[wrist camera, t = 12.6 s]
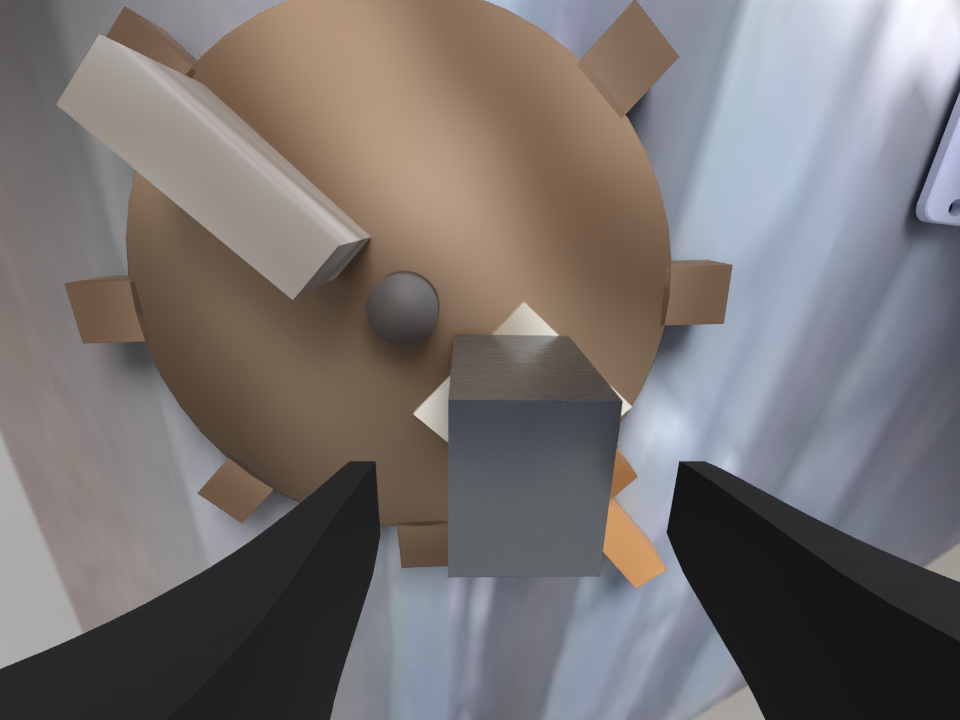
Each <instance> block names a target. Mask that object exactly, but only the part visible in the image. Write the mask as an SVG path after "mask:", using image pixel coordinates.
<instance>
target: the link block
mask: <svg viewBox="0 0 960 720" xmlns="http://www.w3.org/2000/svg"><path fill="white" fill-rule="evenodd" d="M622 404H623V401H622V400H621V398H620V397H619V396H618V395H617V394H616V392H615V391H614V390H613V389H612V388H611V386H610V385H609V384H608V383H607V381H606V380H605V379H604V378H603V377H602V375H601V374H600V373H599V372H598V371H597V369H596V368H595V367H594V366H593V365H592V363H591V362H590V361H589V360H588V358H587V357H586V356H585V355H584V354H583V352H582V351H581V350H580V349H579V348H578V346H577V345H576V344H575V343H574V342H573V340H572V339H571V338H570V337H569V336H545V335H475V334H454V343H453V353H452V364H451V375H450V386H449V397H448V577H567V576H600V570H601V562H602V555H603V547H604V540H605V532H606V525H607V517H608V509H609V502H610V494H611V487H612V479H613V472H614V464H615V457H616V449H617V442H618V434H619V426H620V419H621V411H622Z"/></svg>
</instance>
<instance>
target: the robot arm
mask: <svg viewBox="0 0 960 720" xmlns="http://www.w3.org/2000/svg"><path fill="white" fill-rule="evenodd" d="M951 203H952V204H953V206H952V210H951V211H950V213H949V212H948V211H949V206H950V205H951ZM916 215H917V217H918V218H919V220H920V221H923V222H928V223H937V224H946V225H955V226H960V93H959V95H958V98H957V101H956V103H955V106H954V108H953V111H952V114H951V116H950V119H949V122H948V124H947V127H946V129H945V132H944V135H943V137H942V140H941V143H940V145H939V148H938V151H937V153H936V156H935V158H934V161H933V164H932V166H931V169H930V172H929V174H928V177H927V179H926V182H925V185H924V187H923V190H922V193H921V195H920V198H919V200H918V203H917V207H916ZM667 535H668V537H669V540H670V542H671V545H672V547H673V550H674V552H675V555H676V557H677V559H678V562H679V564H680V566H681V568H682V571H683V573H684V575H685V576H686V578H687V580H688V582H689V584H690V585H691V587H692V589H693V591H694V592H695V594H696V596H697V597H698V599H699V601H700V603H701V604H702V606H703V608H704V610H705V611H706V613H707V615H708V616H709V618H710V620H711V621H712V623H713V625H714V626H715V628H716V630H717V632H718V633H719V635H720V637H721V638H722V640H723V642H724V643H725V645H726V647H727V649H728V650H729V652H730V654H731V655H732V657H733V659H734V660H735V662H736V664H737V666H738V667H739V669H740V671H741V673H742V674H743V676H744V678H745V680H746V682H747V684H748V686H749V687H750V689H751V691H752V693H753V695H754V697H755V699H756V701H757V703H758V705H759V707H760V710H761V712H762V714H763V716H764V718H765V720H960V582H958V581H955V580H952V579H950V578H947V577H945V576H942V575H940V574H937V573H935V572H932V571H930V570H927V569H925V568H922V567H920V566H917V565H915V564H913V563H910V562H908V561H906V560H903V559H901V558H899V557H896V556H894V555H892V554H889V553H887V552H885V551H882V550H880V549H877V548H875V547H873V546H871V545H869V544H867V543H864V542H862V541H860V540H858V539H856V538H854V537H852V536H849V535H847V534H845V533H843V532H841V531H839V530H837V529H835V528H833V527H831V526H829V525H827V524H825V523H823V522H821V521H819V520H817V519H815V518H813V517H811V516H809V515H807V514H805V513H803V512H801V511H800V510H798V509H796V508H794V507H792V506H790V505H788V504H786V503H784V502H783V501H781V500H779V499H777V498H775V497H773V496H771V495H770V494H768V493H766V492H764V491H762V490H760V489H759V488H757V487H755V486H753V485H751V484H749V483H747V482H746V481H744V480H742V479H740V478H738V477H736V476H734V475H732V474H730V473H729V472H727V471H725V470H723V469H721V468H719V467H716V466H714V465H712V464H710V463H707V462H705V461H679V467H678V472H677V478H676V483H675V489H674V495H673V500H672V506H671V512H670V517H669V523H668V529H667ZM379 539H380V520H379V505H378V490H377V474H376V461H349V462H348V463H347V464H345V465H344V466H343V467H342V468H341V469H340V470H338V471H337V472H336V473H335V474H334V475H333V476H332V477H330V478H329V479H328V480H327V481H326V482H325V483H324V484H322V485H321V486H320V487H319V488H318V489H317V490H315V491H314V492H313V493H312V494H311V495H309V496H308V497H307V498H306V499H305V500H303V501H302V502H301V503H300V504H299V505H297V506H296V507H295V508H294V509H293V510H291V511H290V512H289V513H287V514H286V515H285V516H283V517H282V518H281V519H279V520H278V521H277V522H275V523H274V524H273V525H272V526H270V527H269V528H268V529H266V530H265V531H264V532H262V533H261V534H260V535H258V536H257V537H256V538H254V539H253V540H251V541H250V542H248V543H247V544H246V545H244V546H243V547H241V548H240V549H238V550H237V551H235V552H234V553H232V554H231V555H229V556H227V557H226V558H224V559H223V560H221V561H219V562H218V563H216V564H215V565H213V566H212V567H210V568H208V569H207V570H205V571H203V572H202V573H200V574H198V575H196V576H195V577H193V578H191V579H189V580H187V581H186V582H184V583H182V584H180V585H178V586H177V587H175V588H173V589H171V590H169V591H168V592H166V593H164V594H162V595H160V596H159V597H157V598H155V599H153V600H151V601H149V602H148V603H146V604H144V605H142V606H140V607H138V608H136V609H134V610H132V611H130V612H128V613H126V614H124V615H122V616H120V617H118V618H116V619H114V620H112V621H110V622H108V623H105V624H103V625H101V626H99V627H97V628H95V629H92V630H90V631H88V632H86V633H84V634H82V635H80V636H77V637H75V638H73V639H71V640H69V641H67V642H64V643H62V644H60V645H57V646H55V647H53V648H50V649H48V650H46V651H43V652H41V653H38V654H36V655H34V656H31V657H29V658H26V659H24V660H21V661H19V662H16V663H14V664H12V665H9V666H6V667H4V668H2V669H0V720H330V717H331V713H332V708H333V704H334V699H335V696H336V692H337V688H338V685H339V681H340V677H341V674H342V671H343V668H344V664H345V661H346V658H347V655H348V652H349V649H350V646H351V642H352V639H353V636H354V633H355V630H356V627H357V624H358V621H359V617H360V614H361V611H362V608H363V605H364V602H365V598H366V595H367V592H368V589H369V586H370V582H371V579H372V576H373V571H374V566H375V561H376V556H377V550H378V545H379Z"/></svg>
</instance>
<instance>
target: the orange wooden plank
mask: <svg viewBox="0 0 960 720" xmlns="http://www.w3.org/2000/svg"><path fill="white" fill-rule="evenodd" d="M603 552H604V554H605V555H606V556H607V557H608V558H609V559H610V560H611V561H612V562H613V563H614V565H615V566H616V567H617V568H618V569H619V570H620V571H621V572H622V573H623V575H624V576H625V577H626V578H627V579H628V580H629V581H630V582H631V583H632V584H633V586H634V587H635V588H638V587H639V586H641V585H643V584H644V583H646V582H648V581H649V580H651V579H652V578H654V577H656V576H657V575H659V574H660V573H662V572H664V571H665V570H667V569H666V568H665V566H664V564H663V562H662V560H661V559H660V557H659V555H658V553H657V552H656V550H655V548H654V546H653V544H652V543H651V541H650V540H649V539H648V538H647V537H646V536H645V534H644V533H643V532H642V531H641V530H640V529H639V527H638V526H637V525H636V524H635V523H634V521H633V520H632V519H631V518H630V517H629V516H628V514H627V513H626V512H625V511H624V510H623V509H622V507H621V506H620V505H619V504H618V503H617V502H616V500H615V499H614V498H612V499H611V500H610V502H609V509H608V517H607V525H606V532H605V540H604V547H603Z"/></svg>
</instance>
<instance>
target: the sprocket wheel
mask: <svg viewBox="0 0 960 720" xmlns="http://www.w3.org/2000/svg"><path fill="white" fill-rule="evenodd" d="M678 58H679V56H678V54H677V53H676V52H675V51H674V49H673V48H672V47H671V45H670V44H669V43H668V41H667V40H666V39H665V37H664V36H663V35H662V34H661V32H660V31H659V30H658V28H657V27H656V26H655V24H654V23H653V22H652V20H651V19H650V18H649V17H648V15H647V14H646V13H645V11H644V10H643V9H642V7H641V6H640V5H639V3H638V2H637V1H636V0H634V1H633V2H632V3H631V4H630V5H629V6H628V7H627V8H626V10H625V11H624V12H623V13H622V14H621V15H620V16H619V17H618V19H617V20H616V21H615V22H614V23H613V24H612V25H611V27H610V28H609V29H608V30H607V31H606V32H605V33H604V34H603V36H602V37H601V38H600V39H599V40H598V41H597V42H596V43H595V45H594V46H593V47H592V48H591V49H590V50H589V51H588V53H587V54H586V55H585V56H584V57H583V58H582V59H581V60H579V59H578V58H577V56H575V55H574V54H573V53H571V52H570V51H569V50H568V49H566V48H565V47H564V46H563V45H561V44H560V43H559V42H557V41H556V40H555V39H554V38H552V37H551V36H550V35H549V34H547V33H546V32H545V31H543V30H542V29H540V28H538V27H537V26H535V25H533V24H531V23H530V22H528V21H526V20H524V19H523V18H521V17H519V16H517V15H516V14H514V13H512V12H510V11H509V10H507V9H505V8H502V7H499V6H497V5H494V4H492V3H489V2H487V1H484V0H288V1H286V2H283V3H281V4H279V5H277V6H274V7H272V8H270V9H268V10H265V11H263V12H261V13H259V14H257V15H256V16H254V17H253V18H251V19H250V20H248V21H247V22H245V23H244V24H242V25H240V26H239V27H237V28H236V29H234V30H233V31H231V32H230V33H228V34H227V35H225V36H224V37H223V38H222V39H221V40H220V41H219V42H217V43H216V44H215V45H214V46H213V47H212V48H211V49H210V50H209V51H208V52H207V53H205V54H204V55H203V56H202V57H201V58H200V59H199V60H198V61H197V60H196V59H195V58H194V57H192V56H191V55H190V54H189V53H188V52H187V51H186V50H185V49H184V48H183V47H182V46H181V45H179V44H178V43H177V42H176V41H175V40H174V39H173V38H172V37H171V36H170V35H169V34H168V33H167V32H165V31H164V30H163V29H161V28H160V27H158V26H156V25H155V24H153V23H151V22H150V21H148V20H146V19H145V18H143V17H141V16H140V15H138V14H136V13H135V12H133V11H131V10H130V9H128V8H126V7H124V9H123V10H122V12H121V14H120V15H119V17H118V19H117V20H116V22H115V24H114V25H113V27H112V28H111V30H110V32H109V33H108V35H107V37H105V36H103V35H101V34H99V35H98V37H97V38H96V40H95V42H94V43H93V45H92V46H91V48H90V50H89V51H88V53H87V55H86V56H85V58H84V60H83V61H82V63H81V64H80V66H79V68H78V69H77V71H76V73H75V74H74V76H73V78H72V79H71V81H70V82H69V84H68V86H67V87H66V89H65V91H64V92H63V94H62V96H61V97H60V99H59V101H58V102H57V104H56V105H57V106H59V107H60V108H61V109H62V110H63V111H65V112H66V113H67V114H68V115H70V116H71V117H72V118H73V119H74V120H76V121H77V122H78V123H79V124H80V125H82V126H83V127H84V128H85V129H86V130H88V131H89V132H90V133H91V134H92V135H94V136H95V137H96V138H97V139H99V140H100V141H101V142H102V143H103V144H105V145H106V146H107V147H108V148H109V149H111V150H112V151H113V152H114V153H115V154H117V155H118V156H119V157H120V158H122V159H123V160H124V161H125V162H126V163H128V164H129V165H130V166H131V167H132V168H134V169H135V170H136V172H135V176H134V181H133V185H132V190H131V195H130V199H129V206H128V220H127V234H126V246H127V261H128V276H106V277H99V278H93V279H88V280H82V281H77V282H71V283H66V284H65V287H66V290H67V293H68V297H69V300H70V303H71V306H72V309H73V313H74V316H75V319H76V322H77V325H78V329H79V332H80V335H81V338H82V341H83V343H112V342H146V345H147V347H148V349H149V351H150V353H151V355H152V357H153V360H154V362H155V364H156V366H157V368H158V370H159V372H160V374H161V376H162V378H163V380H164V381H165V383H166V384H167V386H168V387H169V389H170V391H171V392H172V394H173V395H174V397H175V398H176V400H177V402H178V403H179V405H180V406H181V408H182V409H183V410H184V411H185V412H186V414H187V415H188V416H189V417H190V419H191V420H192V421H193V422H194V424H195V425H196V426H197V427H198V428H199V430H200V431H201V432H202V433H203V434H204V435H205V436H206V437H207V438H208V439H209V440H210V441H211V442H212V443H213V444H214V445H215V446H216V447H217V448H218V449H219V450H220V451H221V452H222V453H223V454H224V455H225V456H227V457H228V459H227V460H226V462H225V463H224V464H223V465H222V466H221V467H220V468H219V469H218V471H217V472H216V473H215V474H214V475H213V476H212V477H211V478H210V480H209V481H208V482H207V483H206V484H205V485H204V486H203V488H202V489H201V490H200V491H199V492H198V494H199V495H201V496H202V497H204V498H205V499H207V500H208V501H210V502H211V503H213V504H214V505H216V506H217V507H219V508H220V509H222V510H223V511H225V512H226V513H228V514H229V515H231V516H232V517H234V518H235V519H237V520H238V521H240V522H241V523H243V522H244V521H245V520H246V518H247V517H248V516H249V515H250V514H251V513H252V512H253V511H254V510H255V509H256V508H257V507H258V506H259V505H260V504H261V502H262V501H263V500H264V499H265V498H266V497H267V496H268V495H269V494H270V493H271V492H272V491H273V490H275V491H277V492H279V493H281V494H283V495H285V496H287V497H290V498H292V499H294V500H296V501H298V502H300V503H301V502H302V501H303V500H305V499H306V498H307V497H308V496H309V495H311V494H312V493H313V492H314V491H315V490H317V489H318V488H319V487H320V486H321V485H322V484H324V483H325V482H326V481H327V480H328V479H329V478H330V477H332V476H333V475H334V474H335V473H336V472H337V471H338V470H340V469H341V468H342V467H343V466H344V465H345V464H347V463H348V462H349V461H376V474H377V490H378V505H379V520H380V524H383V525H391V526H398V536H399V547H400V557H401V567H402V568H409V567H433V566H448V397H449V386H450V375H451V364H452V353H453V343H454V334H475V335H545V336H569V337H570V338H571V339H572V340H573V342H574V343H575V344H576V345H577V346H578V348H579V349H580V350H581V351H582V352H583V354H584V355H585V356H586V357H587V358H588V360H589V361H590V362H591V363H592V365H593V366H594V367H595V368H596V369H597V371H598V372H599V373H600V374H601V375H602V377H603V378H604V379H605V380H606V381H607V383H608V384H609V385H610V386H611V388H612V389H613V390H614V391H615V392H616V394H617V395H618V396H619V397H620V398H621V400H622V401H623V404H622V411H621V419H620V423H621V421H622V420H623V419H624V417H625V416H626V414H627V413H628V411H629V409H630V408H631V407H632V404H633V403H634V401H635V400H636V398H637V396H638V395H639V393H640V391H641V389H642V387H643V385H644V383H645V381H646V378H647V376H648V374H649V372H650V370H651V367H652V365H653V363H654V360H655V357H656V354H657V351H658V347H659V344H660V341H661V338H662V334H663V331H664V326H665V325H697V324H724V318H725V311H726V305H727V298H728V291H729V285H730V278H731V271H732V265H730V264H725V263H720V262H715V261H710V260H683V261H671V254H670V242H669V231H668V223H667V219H666V214H665V210H664V205H663V201H662V196H661V192H660V188H659V185H658V183H657V180H656V177H655V174H654V172H653V169H652V166H651V164H650V161H649V158H648V155H647V153H646V151H645V149H644V147H643V145H642V144H641V142H640V140H639V138H638V136H637V134H636V132H635V130H634V128H633V127H632V125H631V123H630V121H629V119H628V118H627V116H626V115H625V114H626V113H627V112H628V111H629V110H630V109H631V108H632V107H633V106H634V105H635V104H636V103H637V102H638V100H639V99H640V98H641V97H642V96H643V95H644V94H645V93H646V92H647V91H648V90H649V89H650V88H651V87H652V86H653V84H654V83H655V82H656V81H657V80H658V79H659V78H660V77H661V76H662V75H663V74H664V73H665V72H666V71H667V70H668V68H669V67H670V66H671V65H672V64H673V63H674V62H675V61H676V60H677V59H678ZM637 477H638V476H637V475H636V473H635V472H634V470H633V469H632V467H631V466H630V464H629V462H628V461H627V459H626V458H625V456H624V455H623V454H622V453H621V452H620V451H619V450H618V449H616V457H615V464H614V472H613V479H612V487H611V494H610V500H611V499H612V498H613V497H614V496H615V495H616V494H618V493H619V492H620V491H621V490H622V489H624V488H625V487H626V486H627V485H628V484H630V483H631V482H632V481H633V480H634V479H636V478H637Z"/></svg>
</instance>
